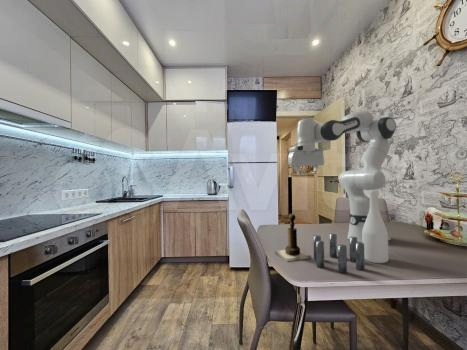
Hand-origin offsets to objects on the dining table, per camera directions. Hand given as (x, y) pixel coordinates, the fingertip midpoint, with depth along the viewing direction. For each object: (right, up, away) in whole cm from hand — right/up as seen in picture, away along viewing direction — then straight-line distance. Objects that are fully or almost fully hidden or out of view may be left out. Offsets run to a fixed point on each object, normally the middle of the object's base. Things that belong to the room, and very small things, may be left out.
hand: (306, 174), depth 125 cm
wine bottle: (+22, -37, -23) cm, 49 cm away
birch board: (-12, -37, -17) cm, 42 cm away
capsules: (+4, -37, -27) cm, 46 cm away
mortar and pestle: (-12, -36, -17) cm, 42 cm away
